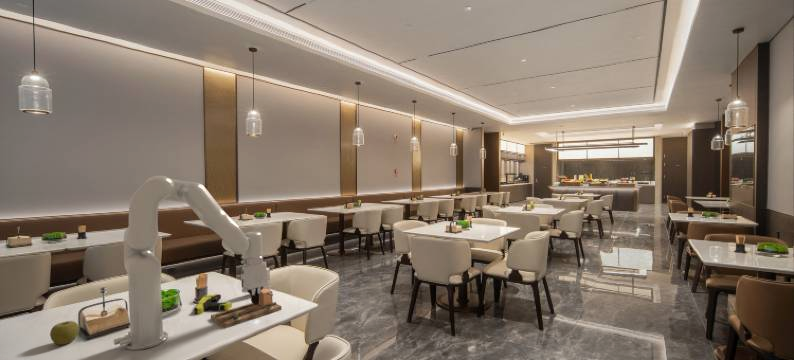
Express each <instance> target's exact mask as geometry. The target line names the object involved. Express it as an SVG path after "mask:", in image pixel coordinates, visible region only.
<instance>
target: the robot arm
mask: <svg viewBox="0 0 794 360" xmlns="http://www.w3.org/2000/svg"><path fill="white" fill-rule="evenodd" d="M163 200H166V201H171V202H172V201H173V202H180V203H186V204H187V205H188V207H189V208H190V209H191V210H192V212H194V214H196V215H197V217H198V218H199V220H201V223H203V224H204V225H205V226H206V227H207V228H208V229H210V230H212V231H213V232H214V233H215V234H217V235H218V236H219V237H220V238H221V246H222V247H223V249H224V250H226V251H227V252H229V253H232V254H235V255H242V254H243V259H242V260H240V263H241V264H242V269H241V276H240V277H241V280H240V283H241V288H242V289H241V292H242V293H248V294H249V295H250V302H251V303H253V304H258V303H259V294H260V291H261V290H262V289H263V288H265V287H266V286H267V284H268V274H267V268H268V267H267V263H266V264H265V262H266V261H264V254H263V253H264V252H263V251H264V250H263V249H264V248H263V246H264V245H263V234H262V232H261V231H247V232H244V231H243V230H242V229H241V228H240V227H239V226H238V225H237V223H236V222H235V221H234V220H233V219H232V218H231V217H230V216H229V215H228V214H227V213H226V212H225V210H224V209H223V208H222V207H221V206H220V205H219V203H218V202H217V200H216V199H214V196H213V195H212V194H211V193H210V192H209V190H208V189H207V188H206V187H205V186H204V185H203V184H202V183H200V182H198V181H197V182H196V181H184V180H179V179H174V178H171V177H168V176H165V175H154V176H153V175H152V176H150V177H148V178H147V179H146V180H145V181H144V183H143V184H141V185H139V187H138V188H137V189H136V190H134V193H133V194H132V195H131V198H130V202H129V207H128V227H127V228H126V229H125V230H124V235H123V263H124V265H123V266H124V269H125V271H126V274H127V277H128V306H129V307H128V308H129V310H128V311H129V327H130V330H129V331H127V334H125V335H124V336H123V337H117V338H114V339H113V345H114V346H116V345H120V346H123V345H125V348H126V349H127V350H130V351H137V350H138V351H139V350H140V351H141V350H145V349H149V348H152V347H156V346H158V345H160V344H163V343H164V342H166V340H167V339H168V338H169V333H168V332H167V331H164V328H163V327H164V326H163V308H162V307H163V306H162V305H163V303H162V302H163V300H162V264H161V261H160V259H158V257H156V255H155V254H156V251H155V250H156V249H155V248H156V247H155V246H156V245H157V243H158V242H159V225H158V224H159V222H158V217H159V206H160V204H161V202H162V201H163ZM254 289H255V290H254Z"/></svg>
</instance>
